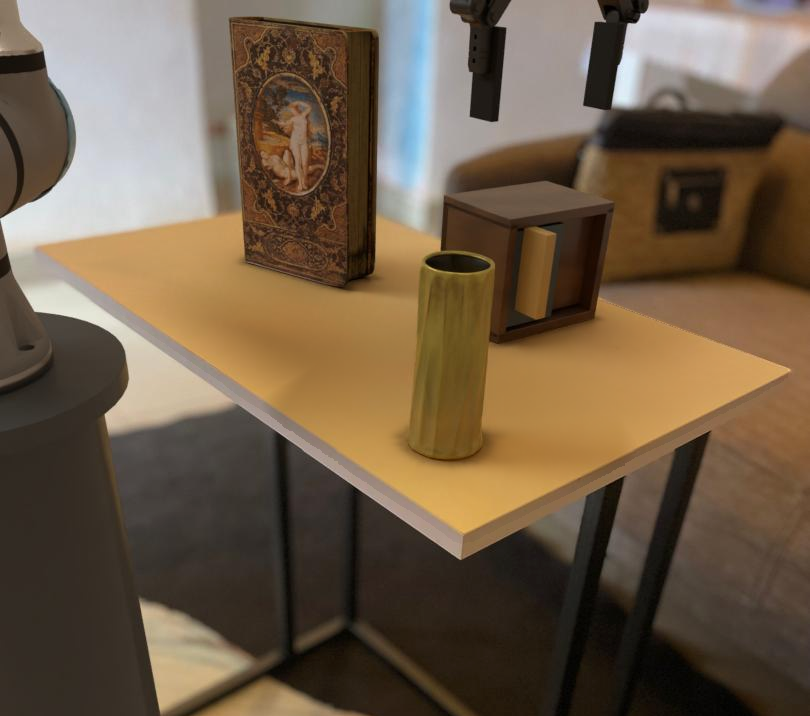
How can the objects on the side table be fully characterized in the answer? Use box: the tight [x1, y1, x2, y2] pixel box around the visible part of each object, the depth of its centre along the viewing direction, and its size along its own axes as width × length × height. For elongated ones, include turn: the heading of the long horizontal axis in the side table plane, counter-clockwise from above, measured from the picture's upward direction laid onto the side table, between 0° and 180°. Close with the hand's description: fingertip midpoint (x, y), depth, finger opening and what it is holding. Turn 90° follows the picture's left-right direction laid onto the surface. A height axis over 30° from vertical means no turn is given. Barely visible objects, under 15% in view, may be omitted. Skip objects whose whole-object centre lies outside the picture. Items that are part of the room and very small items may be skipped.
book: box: [228, 16, 380, 288], centre depth 92 cm, size 16×6×25 cm, turn 57°
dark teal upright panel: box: [506, 222, 564, 328], centre depth 81 cm, size 4×6×10 cm, turn 126°
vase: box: [405, 250, 495, 461], centre depth 62 cm, size 6×6×14 cm
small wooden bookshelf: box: [439, 180, 616, 344], centre depth 87 cm, size 10×14×12 cm
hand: (542, 113), depth 72 cm, fingers open, 13 cm apart
